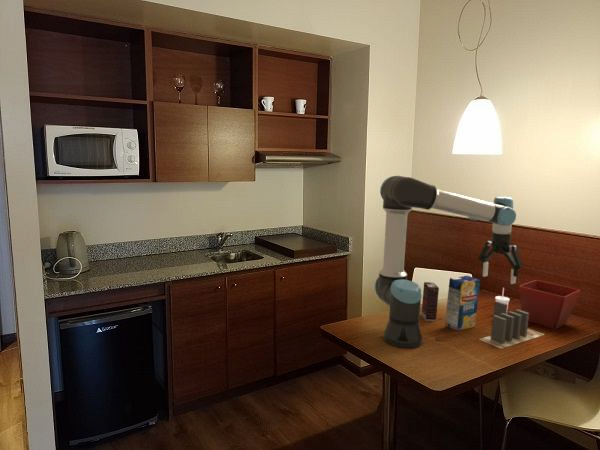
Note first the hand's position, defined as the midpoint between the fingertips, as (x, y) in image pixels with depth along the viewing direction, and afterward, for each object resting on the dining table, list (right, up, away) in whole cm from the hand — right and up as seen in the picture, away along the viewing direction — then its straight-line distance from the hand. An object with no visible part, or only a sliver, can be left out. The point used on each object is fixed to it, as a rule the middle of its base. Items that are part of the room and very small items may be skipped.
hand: (498, 279), depth 194 cm
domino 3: (-5, -22, -17) cm, 28 cm away
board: (-1, -23, -14) cm, 27 cm away
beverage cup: (+6, -19, +12) cm, 24 cm away
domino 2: (-9, -22, -19) cm, 31 cm away
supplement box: (-29, -19, +7) cm, 35 cm away
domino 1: (+1, -20, +2) cm, 20 cm away
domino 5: (+4, -21, -12) cm, 25 cm away
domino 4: (-1, -22, -14) cm, 26 cm away
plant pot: (+24, -21, +5) cm, 32 cm away
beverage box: (-19, -21, -4) cm, 28 cm away
